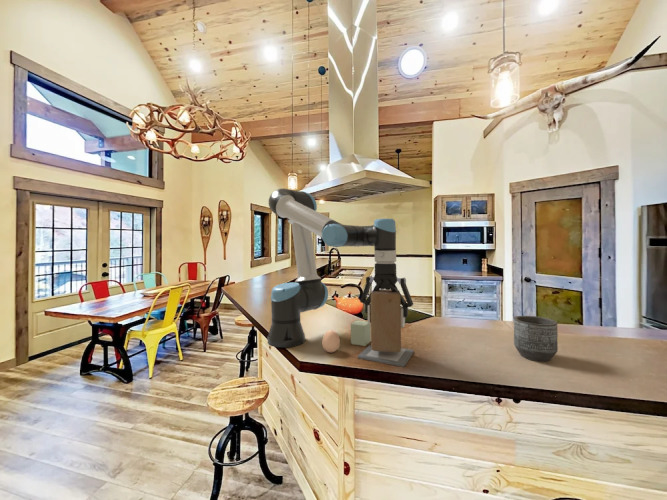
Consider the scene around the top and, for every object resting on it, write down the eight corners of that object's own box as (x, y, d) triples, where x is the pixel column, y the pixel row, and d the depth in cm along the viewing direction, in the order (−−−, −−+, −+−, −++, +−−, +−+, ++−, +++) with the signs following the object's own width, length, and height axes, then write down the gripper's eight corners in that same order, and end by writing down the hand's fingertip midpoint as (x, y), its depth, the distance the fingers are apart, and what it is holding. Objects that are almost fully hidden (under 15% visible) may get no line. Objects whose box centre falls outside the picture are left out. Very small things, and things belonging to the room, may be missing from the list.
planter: (567, 362, 91) (567, 323, 91) (535, 365, 89) (534, 325, 89) (534, 349, 103) (534, 314, 103) (505, 351, 101) (505, 316, 101)
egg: (327, 347, 108) (327, 327, 108) (343, 350, 105) (342, 329, 105) (318, 353, 102) (318, 331, 102) (335, 356, 99) (335, 334, 99)
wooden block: (401, 353, 94) (400, 293, 93) (371, 351, 96) (370, 293, 95) (400, 343, 103) (399, 289, 103) (372, 341, 105) (372, 288, 105)
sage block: (351, 343, 112) (350, 323, 111) (357, 339, 117) (356, 320, 117) (365, 346, 109) (364, 325, 109) (370, 341, 114) (370, 321, 114)
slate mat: (357, 358, 97) (357, 355, 97) (371, 345, 110) (371, 342, 110) (403, 367, 90) (403, 364, 90) (413, 352, 102) (413, 349, 102)
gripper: (350, 262, 101) (351, 323, 102) (417, 264, 90) (418, 331, 91) (358, 261, 108) (359, 318, 108) (421, 262, 97) (422, 325, 97)
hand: (386, 324), depth 99 cm, fingers closed on wooden block, 11 cm apart
